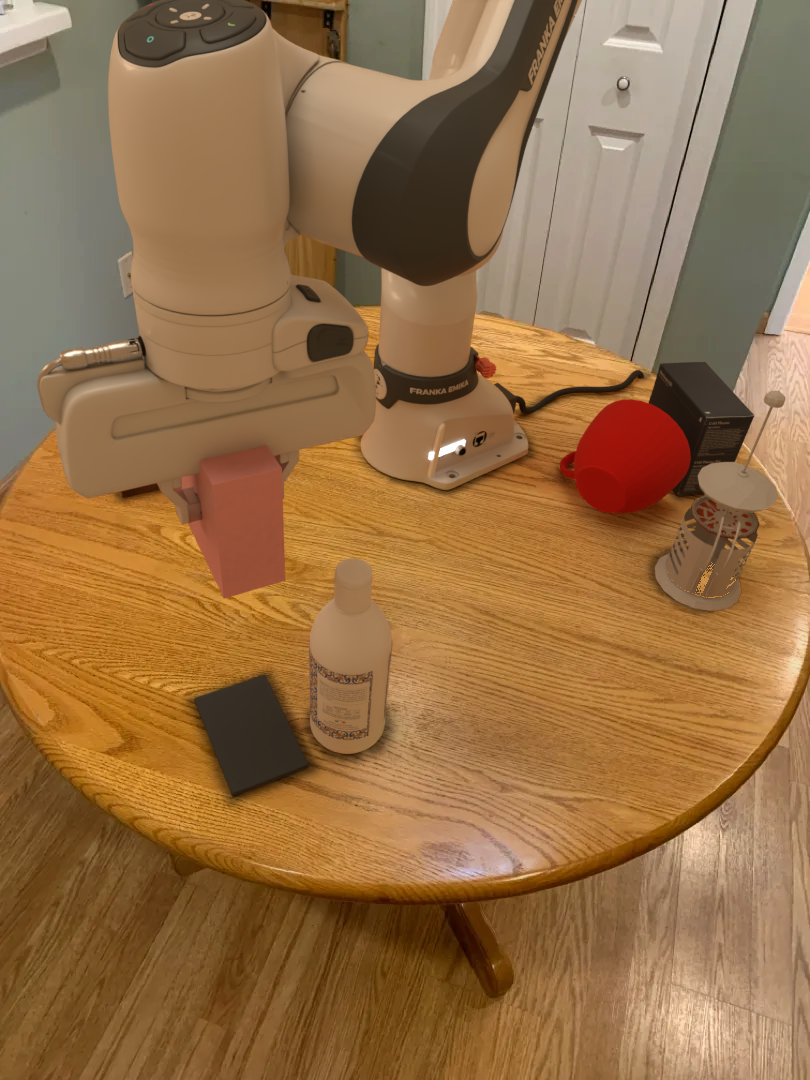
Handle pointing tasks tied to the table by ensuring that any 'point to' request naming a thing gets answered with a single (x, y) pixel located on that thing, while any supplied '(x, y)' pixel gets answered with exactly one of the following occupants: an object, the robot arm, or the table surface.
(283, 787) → the table surface
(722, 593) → the french press
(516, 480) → the table surface
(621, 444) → the ceramic cup
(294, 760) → the mat
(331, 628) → the bath foam
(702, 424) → the small box
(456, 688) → the table surface
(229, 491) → the block
